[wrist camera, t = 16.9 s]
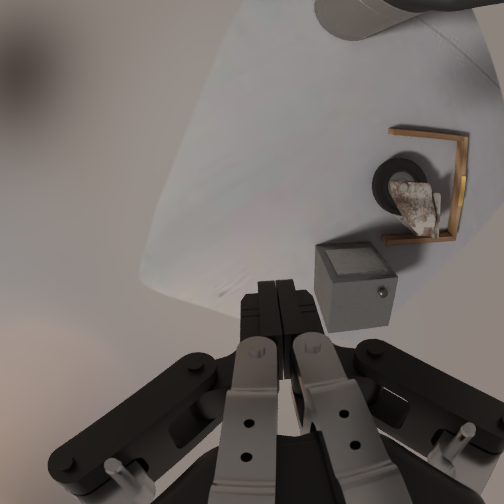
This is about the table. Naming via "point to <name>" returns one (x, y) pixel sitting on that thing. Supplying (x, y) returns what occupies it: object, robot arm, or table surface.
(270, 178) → the table surface
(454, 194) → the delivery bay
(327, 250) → the control box
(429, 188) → the caster wheel
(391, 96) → the table surface
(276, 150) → the table surface
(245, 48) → the table surface
